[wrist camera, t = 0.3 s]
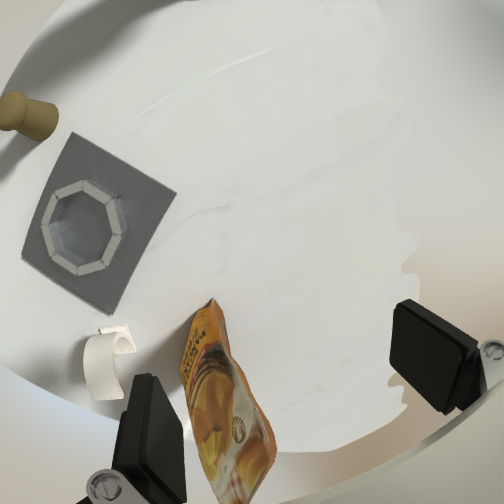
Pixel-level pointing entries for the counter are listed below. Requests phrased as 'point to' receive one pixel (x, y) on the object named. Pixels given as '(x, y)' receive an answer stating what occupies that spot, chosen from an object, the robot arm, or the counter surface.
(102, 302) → the plate
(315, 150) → the counter surface
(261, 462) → the pancake mix bag
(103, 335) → the headphone stand
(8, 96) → the cork
